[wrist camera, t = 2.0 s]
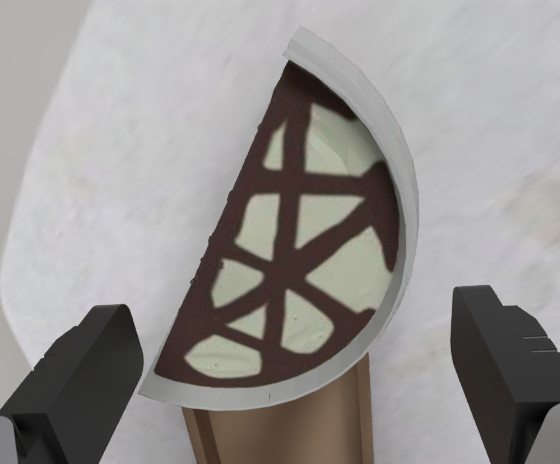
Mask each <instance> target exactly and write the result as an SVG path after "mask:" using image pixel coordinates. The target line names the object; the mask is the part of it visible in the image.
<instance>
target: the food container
mask: <svg viewBox="0 0 560 464" xmlns="http://www.w3.org/2000/svg"><path fill="white" fill-rule="evenodd" d="M283 56H285V57H286V58H288V59H290V60H288V62H287V64H286V66H285V68H284V70H283V73H282V76H281V78H280V80H279V82H278V83H277V85H276V87H275V89H274V91H273V95H272V98H271V102H270V104H269V106H268V109H267V111H266V113H265V116H264V118H263V120H262V123H260V124H259V126H258V132H257V134H256V136H255V139H254V141H253V143H252V145H251V148H250V150H249V152H248V155H247V157H246V159H245V162H244V164H243V166H242V169H241V171H240V173H239V176H238V178H237V181H236V183H235V185H234V188H233V190H231V191H230V192H229V196H228V199H227V204H226V206H225V208H224V211H223V213H222V215H221V218H220V220H219V222H218V224H217V227H216V229H215V231H214V232H213V233H212V236H210V237H209V240H208V247H207V249H206V252H205V254H204V256H203V258H201V263H200V266H199V268H198V270H197V272H196V275H195V277H194V279H192V280H191V282H190V283H191V286H190V288H189V290H188V292H187V294H186V296H185V299H184V301H183V303H182V305H181V307H180V308H179V311H178V313H177V315H176V317H175V319H174V321H173V323H172V325H171V327H170V329H169V331H168V333H167V335H166V337H165V339H164V341H163V343H162V345H161V347H160V349H159V351H158V353H157V355H156V357H155V359H154V361H153V363H152V365H151V367H150V369H149V371H148V373H147V375H146V377H145V379H144V381H143V383H142V386H141V388H140V390H139V392H138V394H140V395H143V396H145V397H148V398H151V399H154V400H157V401H160V402H164V403H168V404H173V405H177V406H182V407H187V408H194V409H204V410H214V411H228V410H248V409H255V408H262V407H270V406H273V405H277V404H280V403H284V402H288V401H291V400H295V399H297V398H300V397H302V396H304V395H307V394H309V393H311V392H314V391H316V390H318V389H320V388H322V387H324V386H325V385H327V384H328V383H330V382H332V381H333V380H335V379H337V378H338V377H340V376H341V375H343V374H344V373H345V372H346V371H348V370H349V369H350V368H351V367H352V366H353V365H355V364H356V363H357V362H358V361H359V360H360V359H362V358H363V357H364V356H365V354H366V353H367V352H368V351H369V350H370V348H371V347H372V346H373V345H374V344H375V342H376V341H377V340H378V339H379V338H380V336H381V335H382V333H383V331H384V330H385V328H386V327H387V326H388V324H389V322H390V320H391V319H392V317H393V315H394V314H395V312H396V310H397V309H398V307H399V305H400V304H401V301H402V299H403V296H404V293H405V291H406V288H407V286H408V283H409V280H410V278H411V274H412V269H413V263H414V258H415V252H416V247H417V238H418V227H419V191H418V186H417V180H416V175H415V169H414V164H413V159H412V157H411V154H410V151H409V149H408V146H407V143H406V140H405V138H404V135H403V132H402V130H401V127H400V126H399V124H398V122H397V121H396V119H395V117H394V115H393V114H392V112H391V110H390V108H389V107H388V105H387V103H386V101H385V100H384V98H383V97H382V95H381V94H380V93H379V92H378V91H377V89H376V88H375V87H374V86H373V85H372V83H371V82H370V81H369V80H368V78H367V77H366V76H365V75H364V74H363V72H362V71H361V70H360V69H359V68H358V67H357V66H356V65H355V64H353V63H352V62H351V61H350V60H349V59H348V58H346V57H345V56H344V55H343V54H342V53H341V52H340V51H338V50H337V49H336V48H335V47H334V46H333V45H331V44H330V43H329V42H327V41H326V40H324V39H322V38H321V37H319V36H317V35H316V34H314V33H313V32H311V31H309V30H308V29H306V28H304V27H303V26H301V25H300V26H299V27H298V29H297V30H296V32H295V33H294V35H293V36H292V38H291V40H290V43H289V45H288V47H287V49H286V50H285V51H284V53H283Z"/></svg>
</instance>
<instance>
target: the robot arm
mask: <svg viewBox="0 0 560 464" xmlns="http://www.w3.org/2000/svg"><path fill="white" fill-rule="evenodd" d="M450 343H451V354H452V360H453V364H454V367H455V370H456V373H457V375H458V378H459V381H460V383H461V386H462V389H463V391H464V394H465V396H466V399H467V402H468V404H469V407H470V410H471V412H472V415H473V418H474V420H475V423H476V426H477V428H478V431H479V433H480V436H481V439H482V441H483V444H484V447H485V449H486V452H487V455H488V457H489V460H490V463H491V464H560V352H557V348H556V347H555V345H554V344H553V342H552V341H551V339H550V338H549V339H548V336H547V334H546V332H545V331H544V329H543V328H542V327H541V325H540V324H539V322H538V321H537V320H536V318H534V317H533V316H531V315H530V314H528V313H527V312H525V311H524V310H522V309H521V308H520V307H518V306H517V305H515V306H503V305H502V303H501V302H500V300H499V299H498V297H497V295H496V294H495V292H494V291H493V289H492V288H491V286H490V285H479V286H460V287H455V288H454V290H453V299H452V319H451V339H450ZM143 364H144V358H143V352H142V348H141V345H140V342H139V338H138V335H137V332H136V328H135V325H134V322H133V318H132V315H131V312H130V310H129V308H128V306H127V305H125V304H116V305H98V306H94V307H93V308H92V309H91V310H90V311H89V312H88V314H87V315H86V316H85V318H84V319H83V320H82V322H81V323H80V324H79V325H78V326H74V327H73V328H72V329H70V330H69V331H67V332H66V333H65V334H63V335H62V336H61V337H59V338H58V339H57V340H56V341H55V342H54V343H53V344H52V346H51V347H50V348H49V349H48V351H47V352H46V353H45V354H44V358H41V359H40V361H39V362H38V363H37V364H36V366H35V367H34V371H31V372H30V373H29V375H28V376H27V377H26V378H25V379H24V381H23V382H22V383H21V384H20V386H19V387H18V388H17V390H16V391H15V392H14V393H13V394H12V396H11V397H10V398H9V399H8V401H7V402H6V403H5V404H4V406H3V407H2V408H1V409H0V464H99V462H100V460H101V458H102V455H103V453H104V451H105V449H106V447H107V445H108V443H109V441H110V439H111V437H112V435H113V433H114V431H115V429H116V427H117V425H118V423H119V421H120V419H121V417H122V415H123V413H124V411H125V408H126V406H127V404H128V402H129V400H130V398H131V396H132V394H133V392H134V390H135V388H136V386H137V384H138V382H139V380H140V378H141V375H142V371H143Z"/></svg>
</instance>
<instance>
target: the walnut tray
mask: <svg viewBox="0 0 560 464" xmlns="http://www.w3.org/2000/svg"><path fill="white" fill-rule="evenodd" d="M181 407H182V406H181ZM182 411H183V414H184V418H185V422H186V425H187V429H188V432H189V436H190V440H191V443H192V447H193V450H194V454H195V457H196V461H197V464H374V455H373V435H372V415H371V395H370V375H369V355H368V352H367V353H366V354H365V356H364V357H363V358H362V359H360V360H359V361H358V362H357V363H356V364H355V365H353V366H352V367H351V368H350V369H349V370H348V371H346V372H345V373H344V374H343V375H341V376H340V377H338V378H337V379H335V380H333V381H332V382H330V383H328V384H327V385H325V386H324V387H322V388H320V389H318V390H316V391H314V392H311V393H309V394H307V395H304V396H302V397H300V398H297V399H295V400H291V401H288V402H284V403H280V404H277V405H273V406H270V407H262V408H255V409H248V410H228V411H214V410H204V409H194V408H187V407H182Z"/></svg>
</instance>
